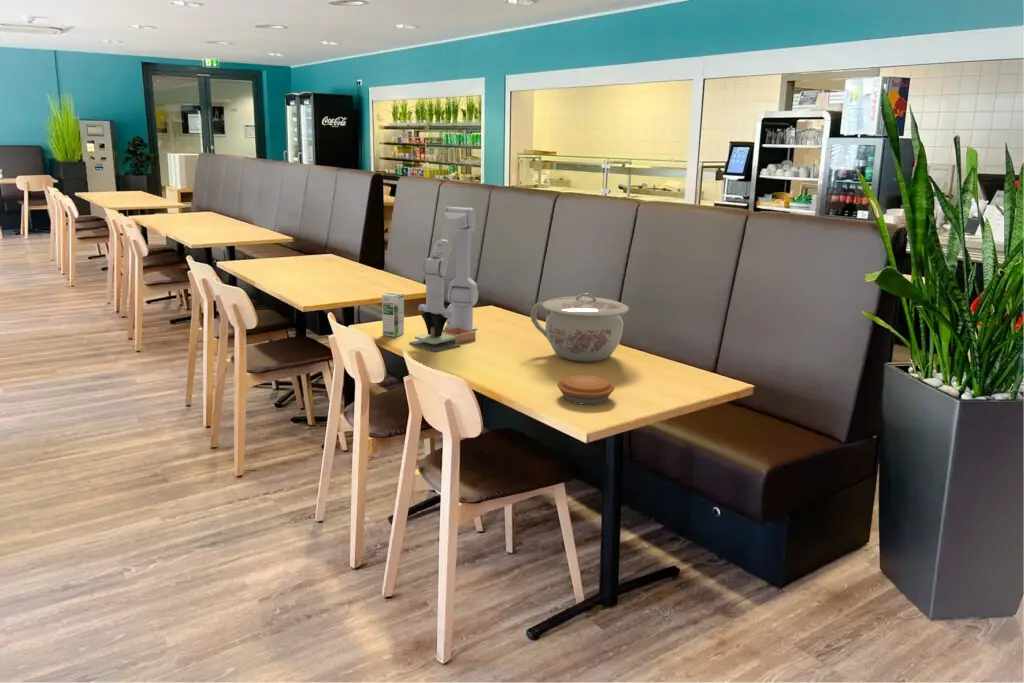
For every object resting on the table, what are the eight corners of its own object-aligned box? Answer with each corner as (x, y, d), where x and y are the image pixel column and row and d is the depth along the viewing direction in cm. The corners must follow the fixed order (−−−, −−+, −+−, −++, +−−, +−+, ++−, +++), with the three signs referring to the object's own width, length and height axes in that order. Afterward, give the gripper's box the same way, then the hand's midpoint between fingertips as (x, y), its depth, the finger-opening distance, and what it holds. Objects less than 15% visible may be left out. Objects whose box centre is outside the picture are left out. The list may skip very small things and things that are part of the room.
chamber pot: (643, 362, 244) (648, 297, 239) (573, 373, 230) (576, 305, 225) (589, 341, 267) (593, 282, 262) (522, 350, 253) (524, 288, 248)
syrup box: (382, 335, 267) (381, 294, 263) (389, 332, 272) (389, 291, 269) (397, 337, 265) (396, 295, 262) (404, 333, 271) (404, 292, 267)
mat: (409, 344, 257) (409, 342, 257) (435, 338, 265) (435, 337, 265) (434, 352, 248) (434, 350, 248) (460, 346, 256) (460, 344, 256)
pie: (592, 386, 219) (593, 369, 218) (625, 403, 206) (626, 385, 205) (545, 393, 212) (546, 375, 211) (576, 411, 199) (577, 392, 198)
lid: (414, 338, 256) (414, 327, 255) (437, 333, 263) (436, 322, 262) (433, 344, 250) (433, 333, 249) (455, 338, 256) (455, 327, 255)
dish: (438, 339, 264) (438, 330, 264) (457, 335, 271) (458, 326, 270) (455, 344, 258) (455, 335, 258) (475, 340, 265) (475, 331, 264)
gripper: (411, 292, 254) (411, 332, 258) (439, 299, 245) (439, 341, 248) (428, 290, 259) (428, 329, 263) (456, 297, 249) (456, 338, 253)
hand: (434, 335), depth 256 cm, fingers closed on lid, 3 cm apart
